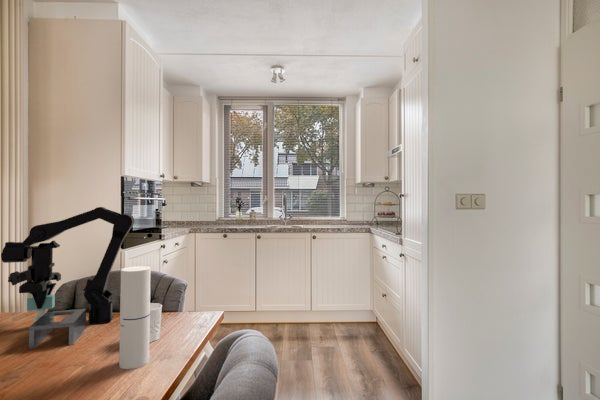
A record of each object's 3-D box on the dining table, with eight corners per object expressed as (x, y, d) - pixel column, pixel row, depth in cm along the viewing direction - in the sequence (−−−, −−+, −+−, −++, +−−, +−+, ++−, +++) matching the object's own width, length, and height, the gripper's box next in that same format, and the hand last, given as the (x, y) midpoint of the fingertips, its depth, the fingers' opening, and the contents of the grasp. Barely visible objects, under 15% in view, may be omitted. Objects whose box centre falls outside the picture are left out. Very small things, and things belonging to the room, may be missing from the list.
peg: (55, 318, 118) (55, 294, 118) (51, 322, 114) (51, 297, 114) (30, 320, 115) (31, 295, 115) (25, 324, 111) (26, 299, 112)
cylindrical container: (137, 370, 86) (138, 272, 86) (112, 367, 87) (114, 270, 87) (154, 358, 93) (156, 266, 93) (131, 355, 94) (133, 265, 94)
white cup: (128, 340, 104) (128, 308, 104) (150, 332, 111) (150, 301, 111) (145, 346, 100) (146, 312, 100) (167, 336, 107) (167, 305, 107)
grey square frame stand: (46, 331, 110) (47, 311, 110) (85, 328, 114) (86, 308, 114) (28, 349, 97) (29, 326, 97) (73, 344, 101) (73, 322, 101)
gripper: (25, 258, 121) (24, 301, 121) (-2, 267, 103) (-3, 318, 103) (61, 256, 125) (61, 299, 124) (42, 265, 107) (41, 315, 107)
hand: (41, 307), depth 115 cm, fingers closed on peg, 2 cm apart
